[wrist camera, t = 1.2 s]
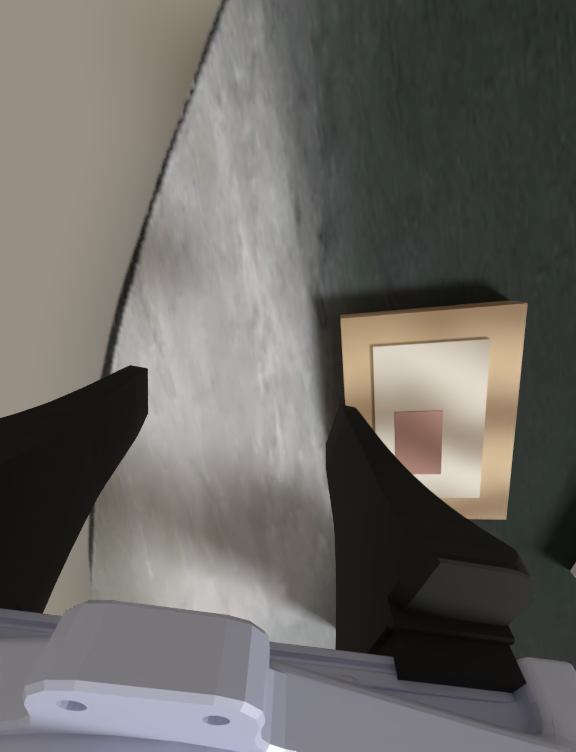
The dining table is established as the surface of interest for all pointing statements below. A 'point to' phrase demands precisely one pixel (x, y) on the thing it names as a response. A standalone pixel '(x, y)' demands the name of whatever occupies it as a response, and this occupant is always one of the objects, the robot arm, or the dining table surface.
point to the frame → (442, 394)
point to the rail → (574, 570)
